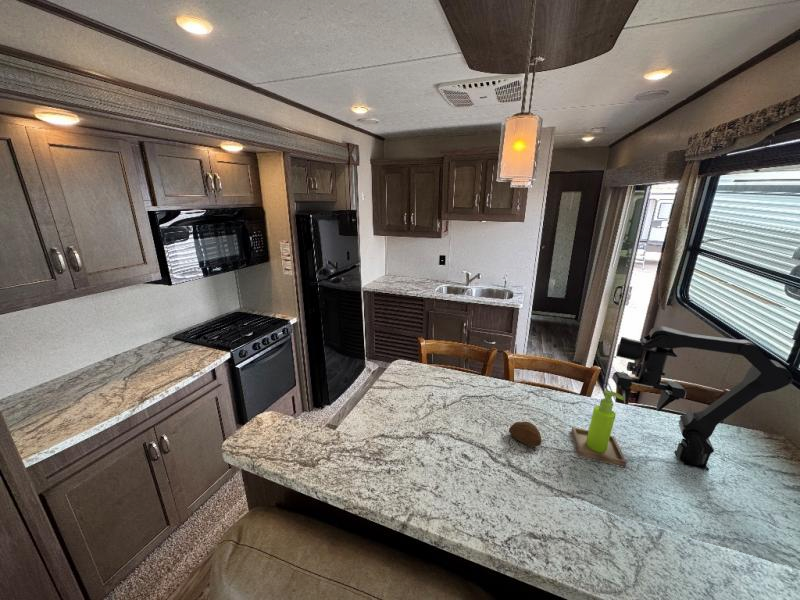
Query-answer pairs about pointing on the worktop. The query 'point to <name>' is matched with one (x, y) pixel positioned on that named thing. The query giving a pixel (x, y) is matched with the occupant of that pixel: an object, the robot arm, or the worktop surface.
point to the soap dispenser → (602, 423)
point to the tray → (610, 456)
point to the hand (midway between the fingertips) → (641, 407)
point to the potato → (526, 433)
